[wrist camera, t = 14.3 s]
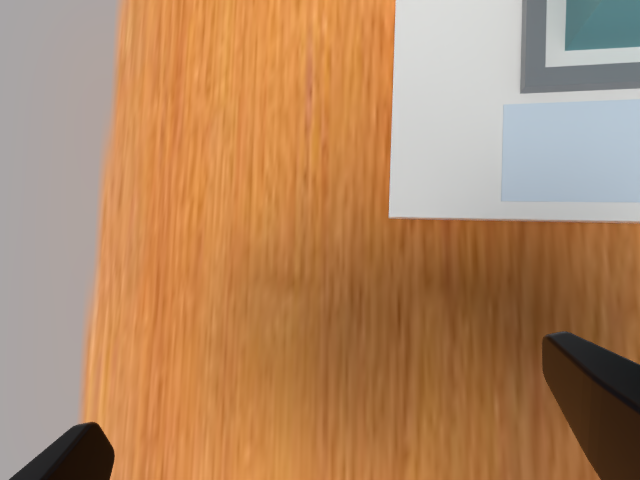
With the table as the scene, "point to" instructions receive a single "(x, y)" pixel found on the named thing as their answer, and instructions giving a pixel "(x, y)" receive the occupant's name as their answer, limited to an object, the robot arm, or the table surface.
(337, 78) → the table surface
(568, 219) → the board
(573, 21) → the column
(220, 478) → the table surface
